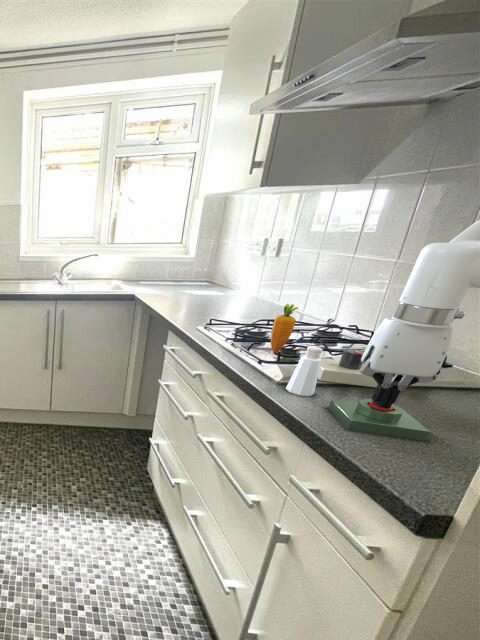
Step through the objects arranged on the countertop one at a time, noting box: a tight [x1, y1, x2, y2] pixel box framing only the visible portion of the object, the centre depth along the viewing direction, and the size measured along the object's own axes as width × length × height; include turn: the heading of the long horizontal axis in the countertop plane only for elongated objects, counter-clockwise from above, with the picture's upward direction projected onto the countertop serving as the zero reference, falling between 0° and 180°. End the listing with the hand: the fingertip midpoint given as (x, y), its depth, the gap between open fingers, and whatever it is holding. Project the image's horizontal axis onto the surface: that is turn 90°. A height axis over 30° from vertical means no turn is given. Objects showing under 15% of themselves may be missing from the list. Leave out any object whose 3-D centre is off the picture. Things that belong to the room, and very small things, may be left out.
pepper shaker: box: [285, 345, 323, 397], centre depth 96 cm, size 5×5×11 cm
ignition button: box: [369, 401, 394, 411], centre depth 83 cm, size 4×4×2 cm
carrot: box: [270, 303, 299, 354], centre depth 120 cm, size 5×5×15 cm
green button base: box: [327, 398, 431, 442], centre depth 84 cm, size 12×10×4 cm
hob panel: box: [317, 357, 394, 388], centre depth 106 cm, size 14×10×3 cm
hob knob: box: [339, 348, 365, 370], centre depth 105 cm, size 4×4×4 cm
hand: (380, 404), depth 83 cm, fingers closed
